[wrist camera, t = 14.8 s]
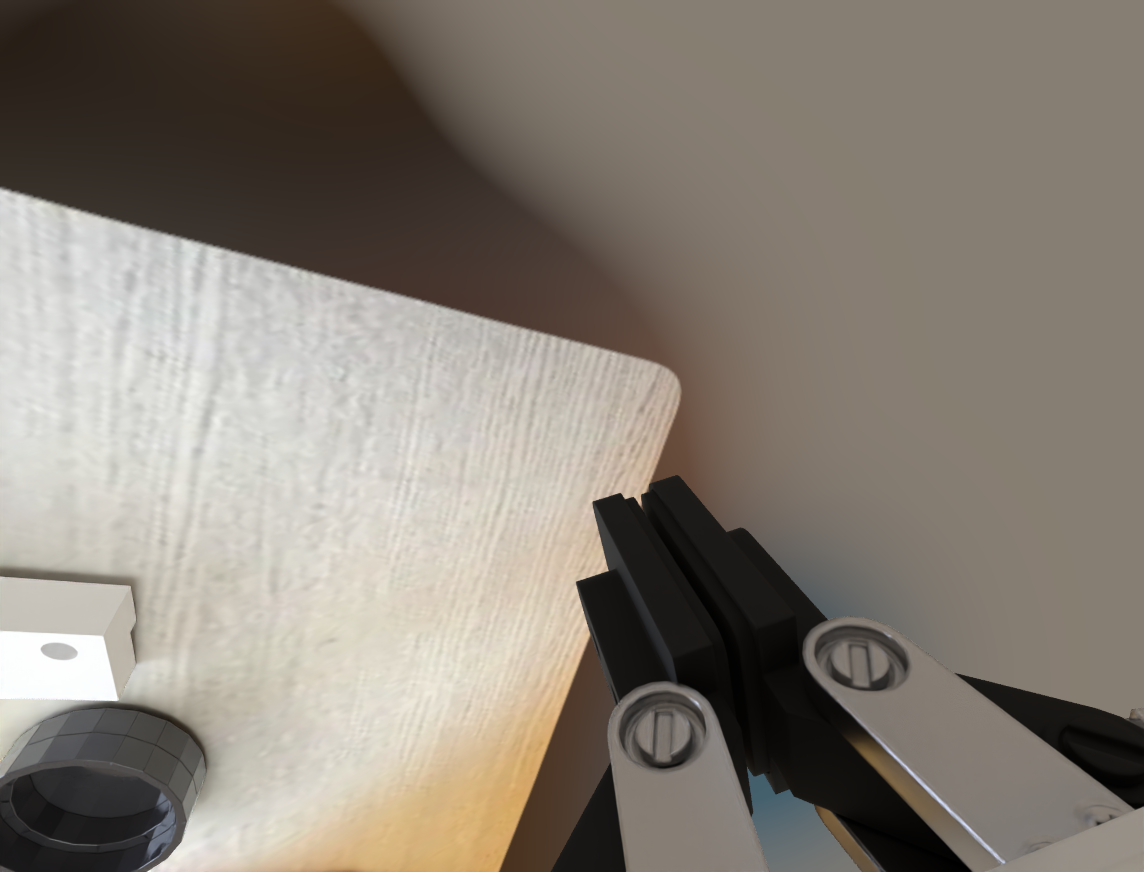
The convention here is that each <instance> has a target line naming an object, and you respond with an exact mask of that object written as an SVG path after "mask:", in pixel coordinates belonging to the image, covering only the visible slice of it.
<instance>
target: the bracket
mask: <svg viewBox="0 0 1144 872" xmlns="http://www.w3.org/2000/svg"><path fill="white" fill-rule="evenodd" d="M135 622H136V614H135V609H134V603H133V597H132V592H131V586H124V585H110V584H96V583H82V582H68V581H54V580H40V579H26V578H11V577H0V698H9V699H56V700H103V701H119V699H120V696H121V694H122V692H123V690H124V688H125V686H126V684H127V682H128V680H129V678H130V676H131V673H132V671H133V669H134V667H135V665H136V661H135V656H134V650H133V645H132V640H131V635H130V632H131V630H132V628H133V626H134V624H135Z"/></svg>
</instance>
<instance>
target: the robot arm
mask: <svg viewBox="0 0 1144 872" xmlns="http://www.w3.org/2000/svg"><path fill="white" fill-rule="evenodd" d="M641 501H642V506H643V510H642V509H641V507H640V505H639V504H638V502H637V501H636V499H635V498H634V497H631V498H628V499H624V497H623V495H622V494H621V493H618V494H615V495H612V496H609V497H606V498H603V499H599V500H596V501H593V509H594V513H595V518H596V522H597V526H598V530H599V534H600V538H601V542H602V546H603V550H604V554H605V558H606V562H607V566H608V570H609V571H607V572H604V573H601V574H598V575H595V576H592V577H589V578H586V579H583V580H580V581H577V582H576V585H577V589H578V593H579V596H580V600H581V603H582V607H583V611H584V614H585V617H586V621H587V624H588V627H589V631H590V634H591V637H592V640H593V643H594V646H595V650H596V652H597V656H598V658H599V661H600V664H601V667H602V670H603V672H604V676H605V679H606V681H607V684H608V687H609V690H610V693H611V696H612V698H613V701H614V704H615V708H614V710H613V712H612V715H611V717H610V720H609V723H608V744H609V752H610V758H611V763H610V764H609V766H608V768H607V770H606V772H605V773H604V775H603V778H602V779H601V781H600V783H599V784H598V786H597V788H596V790H595V792H594V794H593V795H592V798H591V799H590V801H589V803H588V805H587V806H586V808H585V810H584V812H583V814H582V816H581V818H580V819H579V821H578V823H577V825H576V827H575V828H574V830H573V832H572V834H571V836H570V838H569V840H568V841H567V843H566V845H565V847H564V849H563V850H562V852H561V854H560V856H559V858H558V860H557V862H556V863H555V865H554V867H553V869H552V871H551V872H770V871H769V868H768V865H767V862H766V860H765V857H764V854H763V851H762V848H761V845H760V842H759V839H758V836H757V833H756V830H755V827H754V824H753V821H752V818H751V817H752V814H753V808H752V801H751V793H750V786H749V779H748V773H747V767H748V769H749V770H750V772H751V773H752V775H753V776H758V775H760V774H763V773H764V774H765V776H766V778H767V780H768V782H769V783H770V785H771V787H772V789H773V791H774V792H775V794H778V793H781V792H783V791H786V790H788V789H790V790H791V792H792V794H793V795H794V797H797V798H799V799H802V800H804V801H807V802H809V803H812V804H814V806H815V810H816V812H817V813H818V815H819V817H820V818H821V820H822V822H823V823H824V825H825V826H826V827H827V828H828V830H829V831H830V832H831V834H832V835H833V836H834V837H835V839H836V840H837V841H838V842H839V844H840V845H841V846H842V847H843V849H844V850H845V851H846V853H847V854H848V855H849V856H850V857H851V859H852V860H853V861H854V863H855V864H856V865H857V866H858V868H859V869H860V870H861V872H1144V708H1138V709H1132V710H1131V714H1130V717H1129V718H1127V719H1124V718H1122V717H1120V716H1117V715H1114V714H1111V713H1108V712H1105V711H1102V710H1099V709H1096V708H1093V707H1089V706H1085V705H1080V704H1077V703H1072V702H1068V701H1064V700H1060V699H1057V698H1053V697H1049V696H1045V695H1041V694H1036V693H1033V692H1029V691H1025V690H1021V689H1017V688H1013V687H1009V686H1004V685H1001V684H997V683H993V682H989V681H985V680H981V679H977V678H973V677H969V676H965V675H961V674H957V673H953V672H952V671H951V670H949V669H948V668H947V667H945V666H944V665H943V664H941V663H940V662H939V661H937V660H936V659H935V658H933V657H932V656H931V655H929V654H928V653H927V652H925V651H924V650H923V649H921V648H920V647H919V646H917V645H916V644H915V643H913V642H912V641H911V640H909V639H908V638H907V637H906V636H904V635H903V634H902V633H900V632H898V631H896V630H895V629H893V628H891V627H890V626H888V625H886V624H884V623H881V622H878V621H875V620H872V619H868V618H861V617H853V616H850V617H838V618H833V619H830V620H828V619H827V618H826V617H825V616H824V615H823V614H822V613H821V612H820V611H819V609H818V608H817V607H816V606H815V605H814V604H813V603H812V602H811V601H810V600H809V598H808V597H807V596H806V595H805V594H804V593H803V592H802V591H801V590H800V589H799V587H798V586H797V585H796V584H795V583H794V582H793V581H792V580H791V578H790V577H789V576H788V575H787V574H786V573H785V572H784V571H783V570H782V569H781V567H780V566H779V565H778V564H777V563H776V562H775V561H774V560H773V559H772V557H770V555H769V554H768V553H767V552H766V551H765V550H764V549H763V547H762V546H761V545H760V544H759V543H758V542H757V541H756V540H755V539H754V537H753V536H752V535H751V534H750V533H749V532H748V531H747V530H745V529H744V528H738V529H735V530H732V531H729V532H726V531H725V530H724V529H723V528H722V526H721V525H720V524H719V523H718V522H717V520H716V519H715V518H714V517H713V516H712V514H711V513H710V512H709V511H708V510H707V509H706V508H705V506H704V505H703V504H702V502H701V501H700V500H699V499H698V498H697V496H696V495H695V494H694V493H693V492H692V491H691V489H690V488H689V487H688V486H687V485H686V483H685V482H684V481H683V480H682V479H681V478H680V477H679V476H678V475H675V476H672V477H669V478H666V479H663V480H660V481H657V482H654V483H650V484H649V492H647V493H644V494H642V495H641ZM643 511H644V512H643Z"/></svg>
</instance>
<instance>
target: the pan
mask: <svg viewBox="0 0 1144 872" xmlns="http://www.w3.org/2000/svg"><path fill="white" fill-rule="evenodd" d="M205 775H206V767H205V762H204V757H203V753H202V751H201V750H200V748H199V747H198V746H197V744H196V743H195V742H194V740H193V739H192V738H191V737H190V735H189V734H187V733H186V732H184V731H183V730H181V729H180V728H178V727H177V726H175V725H174V724H172V723H171V722H169V721H167V720H164V719H161V718H158V717H155V716H152V715H149V714H146V713H143V712H139V711H132V710H123V709H114V708H99V709H89V710H78V711H74V712H70V713H67V714H63V715H60V716H57V717H54V718H51V719H48V720H45V721H42V722H41V723H39V724H38V725H36V726H35V727H33V728H32V729H30V730H29V731H27V732H26V733H24V734H23V735H21V736H20V737H19V738H18V740H17V741H16V742H15V744H14V745H13V746H12V748H11V749H10V750H9V752H8V753H7V755H6V756H5V757H4V759H3V760H2V761H1V763H0V872H147V871H148V870H150V869H152V868H153V867H155V866H156V865H158V864H159V863H161V862H163V861H164V860H166V859H167V858H168V857H169V856H170V855H171V853H172V852H173V851H174V850H175V849H176V847H177V846H178V845H179V844H180V843H181V841H182V839H183V836H184V834H185V831H186V828H187V826H188V823H189V820H190V818H191V815H192V813H193V810H194V807H195V805H196V802H197V799H198V797H199V794H200V791H201V789H202V785H203V782H204V778H205Z"/></svg>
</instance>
